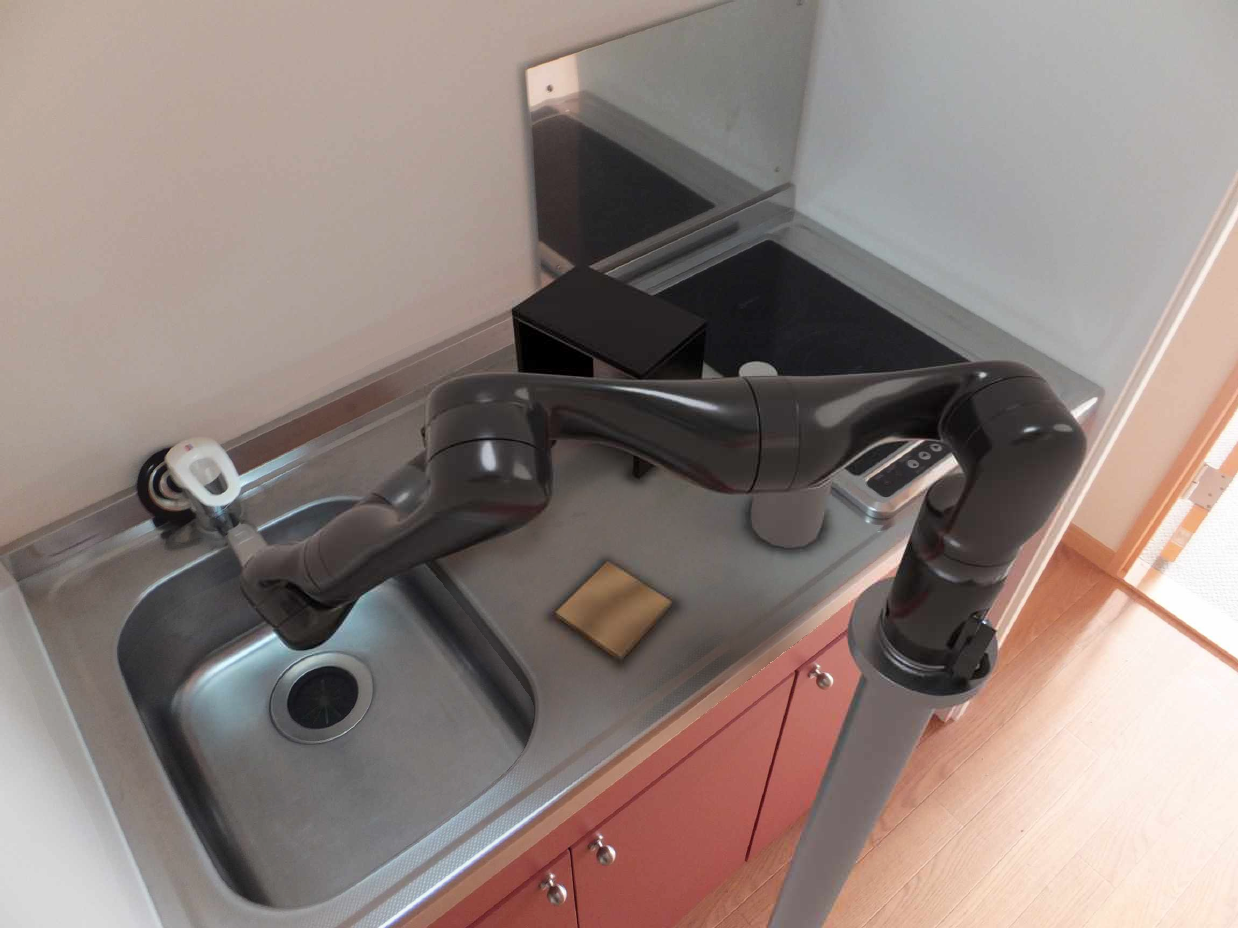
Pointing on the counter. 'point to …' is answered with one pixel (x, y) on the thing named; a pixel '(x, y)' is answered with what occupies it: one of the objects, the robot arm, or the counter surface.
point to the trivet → (613, 610)
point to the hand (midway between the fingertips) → (527, 414)
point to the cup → (790, 515)
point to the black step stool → (606, 332)
